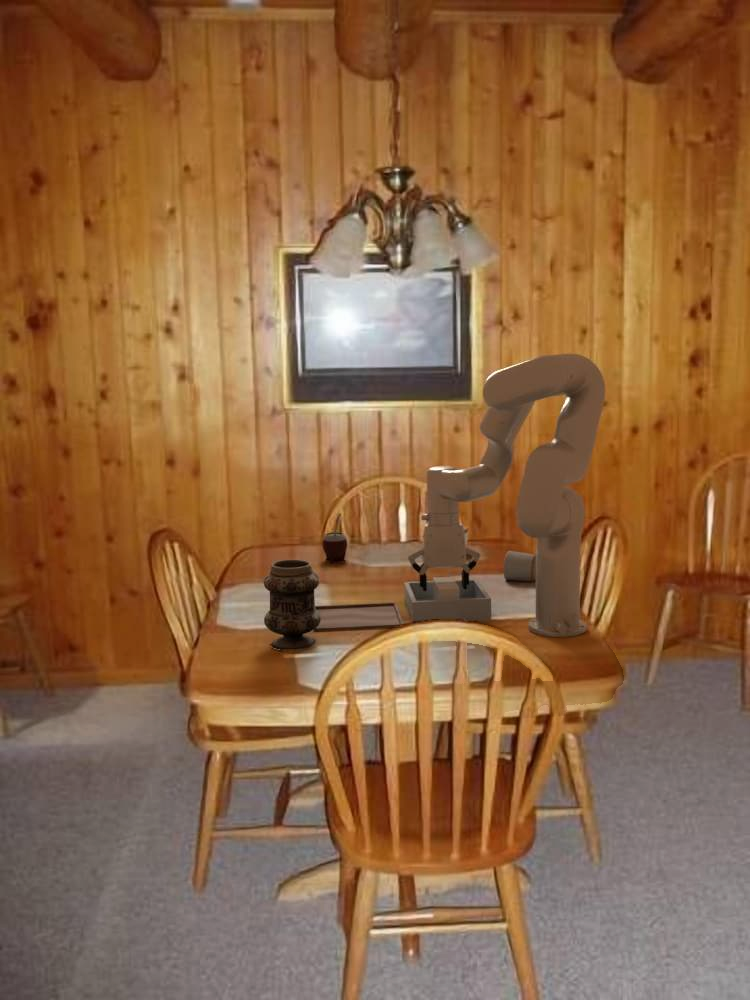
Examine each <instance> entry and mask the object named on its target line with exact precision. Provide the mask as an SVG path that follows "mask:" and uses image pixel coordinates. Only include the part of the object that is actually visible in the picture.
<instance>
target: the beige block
mask: <svg viewBox="0 0 750 1000" xmlns="http://www.w3.org/2000/svg"><path fill="white" fill-rule="evenodd" d="M449 599H459V587H458V585H457V583H446V584H436V600H449Z"/></svg>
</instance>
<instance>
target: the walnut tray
mask: <svg viewBox="0 0 750 1000" xmlns="http://www.w3.org/2000/svg"><path fill="white" fill-rule="evenodd" d="M315 609H316V610H317V611H318V612H319V614H320V616H321V621H320V624H319V625H318V626H317V627H316V628H315V629H314V630H313V631H314V632H327V631H329V632H331V631H349V630H351V631H352V630H354V631H355V630H373V629H390V628H391V629H392V628H393V627H396V626H400V625H404V621H403V619H402V615H401V613H400V610H399V607H398V604H397V602H396V601H395V602H394V601H393V602H376V603H375V602H374V603H373V602H371V603H369V602H368V603H349V604H346V603H345V604H331V605H329V604H327V605H315ZM404 626H405V625H404ZM396 628H397V627H396Z"/></svg>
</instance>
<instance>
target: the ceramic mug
mask: <svg viewBox="0 0 750 1000" xmlns="http://www.w3.org/2000/svg"><path fill="white" fill-rule="evenodd" d="M503 560H504V561H503V578H504V579H505V581H518V582H528V583H529V582H535V581H536V554H532V553H528V552H519V551H513V550H508V551H507V552H506V554H505V556H504V559H503Z"/></svg>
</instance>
